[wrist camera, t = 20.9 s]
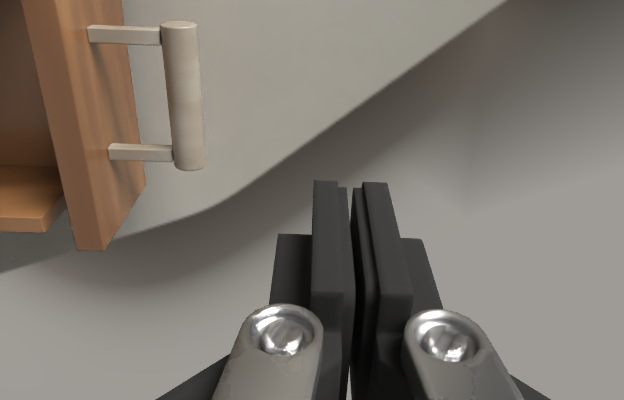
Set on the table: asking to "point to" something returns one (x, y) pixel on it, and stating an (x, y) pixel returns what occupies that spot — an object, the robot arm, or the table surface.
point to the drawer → (85, 114)
